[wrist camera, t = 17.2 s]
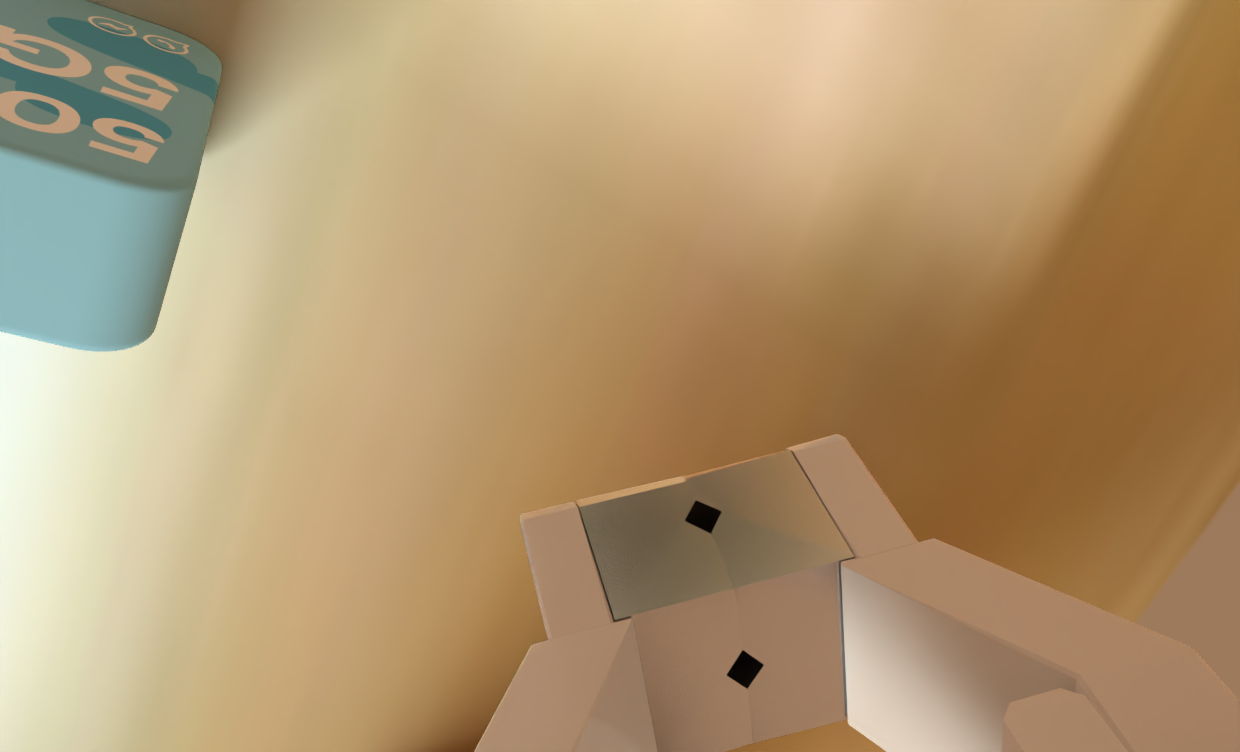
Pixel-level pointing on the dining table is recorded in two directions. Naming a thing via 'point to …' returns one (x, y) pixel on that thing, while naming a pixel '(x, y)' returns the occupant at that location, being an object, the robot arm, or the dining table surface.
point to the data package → (95, 168)
